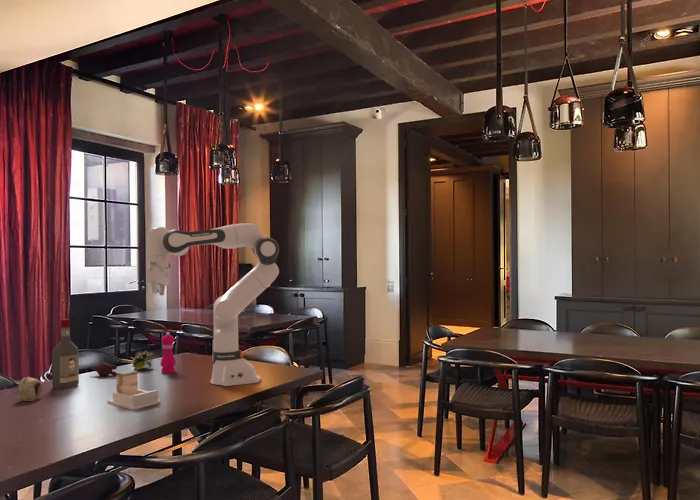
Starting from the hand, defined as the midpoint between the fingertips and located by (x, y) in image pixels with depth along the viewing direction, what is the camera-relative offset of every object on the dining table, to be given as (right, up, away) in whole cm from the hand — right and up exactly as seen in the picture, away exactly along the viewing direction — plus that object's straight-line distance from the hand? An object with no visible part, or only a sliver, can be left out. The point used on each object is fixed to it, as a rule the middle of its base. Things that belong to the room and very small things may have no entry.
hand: (158, 294), depth 239 cm
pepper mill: (-6, -42, +32) cm, 53 cm away
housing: (-1, -41, -25) cm, 48 cm away
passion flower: (-22, -42, +40) cm, 61 cm away
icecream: (-35, -42, +25) cm, 60 cm away
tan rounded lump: (-46, -42, -18) cm, 64 cm away
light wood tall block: (-5, -39, -22) cm, 45 cm away
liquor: (-43, -42, +4) cm, 60 cm away
